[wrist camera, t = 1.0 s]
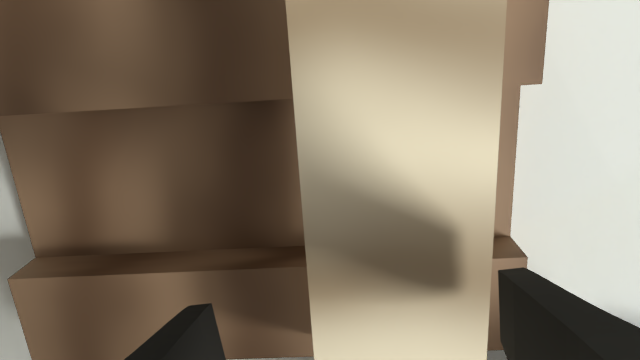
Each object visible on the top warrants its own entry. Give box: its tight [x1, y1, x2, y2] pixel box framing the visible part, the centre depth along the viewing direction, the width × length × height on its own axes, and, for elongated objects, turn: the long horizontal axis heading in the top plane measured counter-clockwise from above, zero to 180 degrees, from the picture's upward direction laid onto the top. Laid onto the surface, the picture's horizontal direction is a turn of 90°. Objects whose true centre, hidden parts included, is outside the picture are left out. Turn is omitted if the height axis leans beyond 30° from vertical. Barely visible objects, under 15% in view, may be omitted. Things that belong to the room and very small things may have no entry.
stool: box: [285, 0, 507, 360], centre depth 15 cm, size 14×5×6 cm, turn 4°
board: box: [0, 0, 549, 360], centre depth 20 cm, size 22×16×3 cm
